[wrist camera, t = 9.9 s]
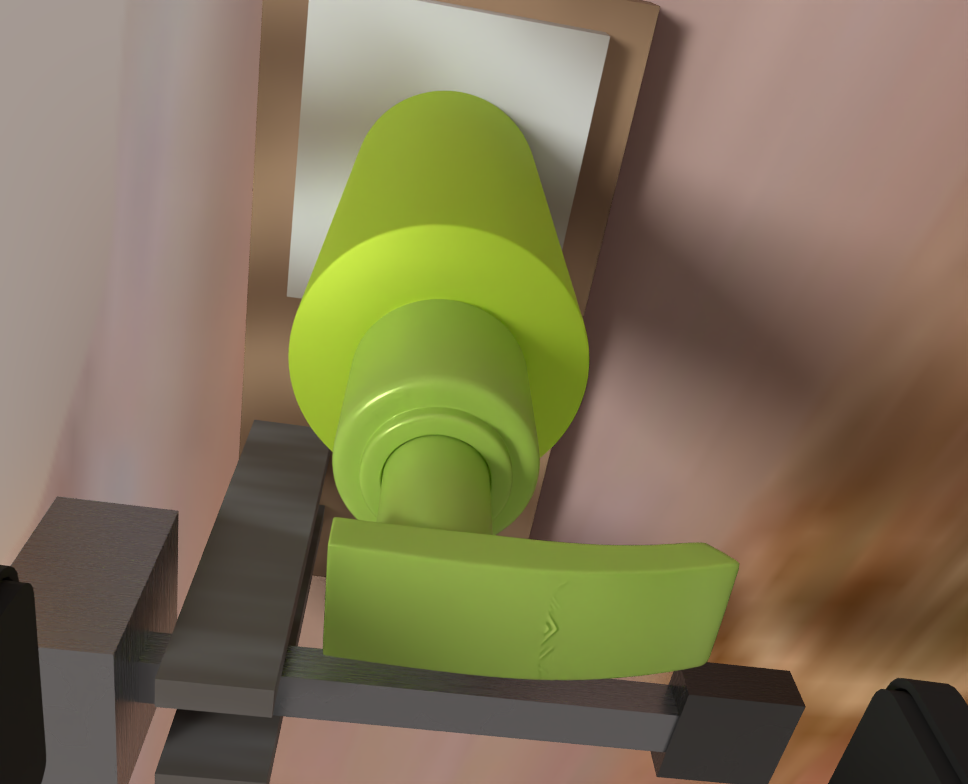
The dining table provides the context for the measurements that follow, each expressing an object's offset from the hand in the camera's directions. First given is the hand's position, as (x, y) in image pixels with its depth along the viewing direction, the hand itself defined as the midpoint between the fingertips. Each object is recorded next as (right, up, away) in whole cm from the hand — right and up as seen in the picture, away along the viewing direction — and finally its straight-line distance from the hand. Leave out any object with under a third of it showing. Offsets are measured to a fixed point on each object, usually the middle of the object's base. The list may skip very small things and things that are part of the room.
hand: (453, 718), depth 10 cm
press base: (-2, +7, +24) cm, 25 cm away
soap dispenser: (0, +10, +19) cm, 22 cm away
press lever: (-2, -4, +20) cm, 20 cm away
